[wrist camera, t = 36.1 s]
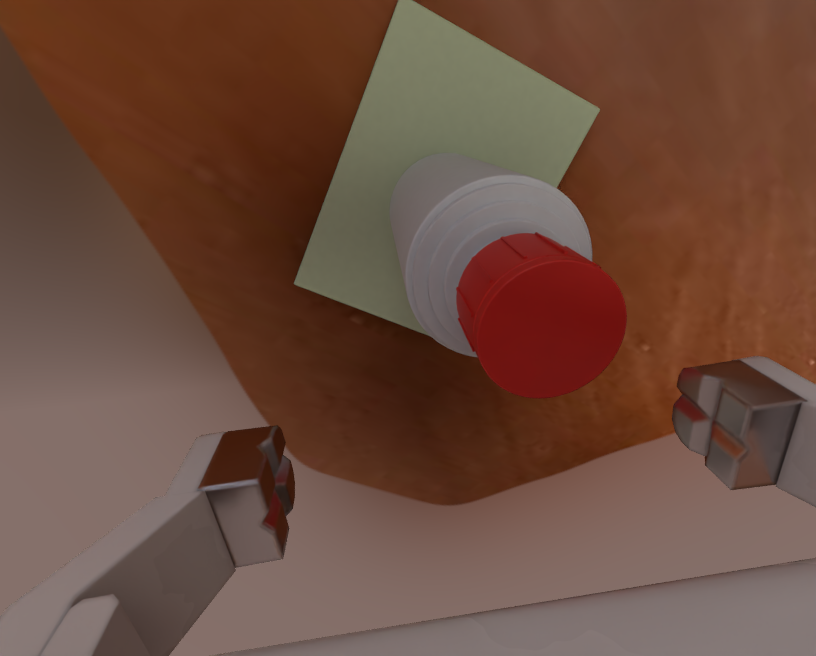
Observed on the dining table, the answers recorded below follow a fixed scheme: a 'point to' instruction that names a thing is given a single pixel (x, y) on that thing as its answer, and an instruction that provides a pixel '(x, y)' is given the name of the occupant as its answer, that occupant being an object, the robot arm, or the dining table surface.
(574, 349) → the cap
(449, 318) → the bottle
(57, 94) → the dining table surface
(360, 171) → the mat
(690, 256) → the dining table surface
